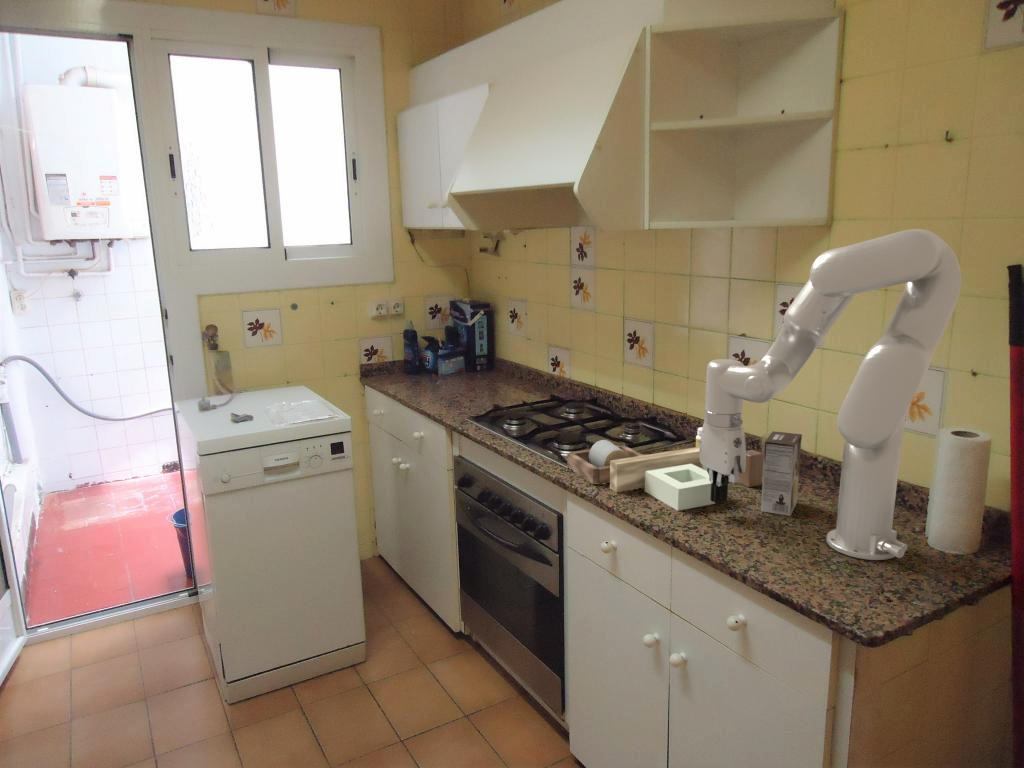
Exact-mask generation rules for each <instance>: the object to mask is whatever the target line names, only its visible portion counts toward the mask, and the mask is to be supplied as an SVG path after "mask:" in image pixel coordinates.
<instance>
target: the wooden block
mask: <svg viewBox="0 0 1024 768" xmlns="http://www.w3.org/2000/svg"><path fill="white" fill-rule="evenodd" d="M763 469H764V453H762V452H759V451H757V450H754V449H750V450H749V449H748V450H746V469H745V472H744V473H739V481H738V483H739V484H740V485H743V486H745V487H747V488H753V487H758V486H761V485H763Z"/></svg>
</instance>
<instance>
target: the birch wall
mask: <svg viewBox="0 0 1024 768" xmlns="http://www.w3.org/2000/svg"><path fill="white" fill-rule="evenodd" d="M699 451H700V447H696V446H695V447H688V448H683V449H676V450H669V451H665V452H664V451H663V452H657V453H651V454H642V455H643V456H637V457H630V458H624V459H618V460H611V461H610V484H609V489H610V490H611V489H612V490H611V491H613V492H614V491H615V493H616V494H617V492H618V493H622V492H623V491H624V492H629V491H634V489H635V490H640V489H639V488H641V489H645V471H649V470H655V469H661V468H668V467H674V466H680V465H686V464H693V465H695V466H697V467H699V468H702V469H704V468H703V467H702V463H701V462H700V458H699ZM704 470H705V469H704ZM628 490H629V491H628Z"/></svg>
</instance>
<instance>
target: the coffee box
mask: <svg viewBox="0 0 1024 768" xmlns="http://www.w3.org/2000/svg"><path fill="white" fill-rule="evenodd" d="M802 437H803V434H802V433H793V432H792V433H791V432H783V431H774V430H773V431H771V433H770V434H769V436H768V437H767V438H766V440H765V442H764V453H763V470H762V484H761V485H762V486H761V504H760V506H761V507H760V511H761V512H764V513H771V514H776V515H781V516H789V517H791V516H792V513H793V511H794V510H795V508H796V505H797V502H798V493H799V492H798V491H799V480H800V466H801V465H800V464H801V448H802V440H803V439H802Z"/></svg>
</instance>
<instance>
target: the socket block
mask: <svg viewBox="0 0 1024 768" xmlns="http://www.w3.org/2000/svg"><path fill="white" fill-rule="evenodd" d="M711 484H712V483H710V481H709V474H708V472H707V471H706V470H704V469H702V468H699V467H697V466H695V465H693V464H686V465H680V466H674V467H668V468H661V469H655V470H649V471H645V488H644V492H645V493H647V494H648V495H650V496H652V497H654V498H655V499H657V500H658V501H660V502H662V503H664V504H665V505H667V506H669V507H670V508H673V509H674V510H675V511H677V512H679V511H684V510H688V509H694V508H698V507H705V506H710V505H716V503H714V502H712V501H711V500H710V496H711Z"/></svg>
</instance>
